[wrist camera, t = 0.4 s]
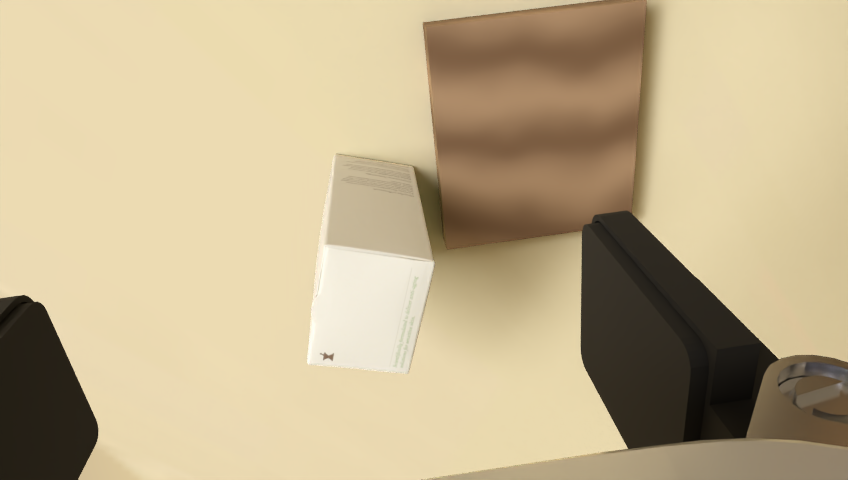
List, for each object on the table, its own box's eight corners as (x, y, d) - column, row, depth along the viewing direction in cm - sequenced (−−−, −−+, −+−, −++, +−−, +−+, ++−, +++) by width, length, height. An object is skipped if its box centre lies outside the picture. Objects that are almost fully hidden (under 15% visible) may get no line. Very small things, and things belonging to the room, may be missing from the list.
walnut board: (422, 22, 43) (426, 27, 41) (634, -4, 43) (646, 0, 41) (443, 237, 51) (446, 249, 49) (621, 213, 51) (630, 223, 50)
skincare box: (395, 254, 51) (411, 381, 37) (314, 244, 50) (301, 371, 36) (415, 161, 47) (442, 263, 34) (329, 146, 46) (321, 247, 32)
